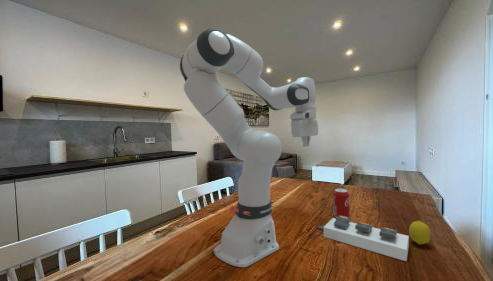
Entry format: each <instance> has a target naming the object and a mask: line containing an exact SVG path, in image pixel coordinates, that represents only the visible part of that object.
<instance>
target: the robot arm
mask: <svg viewBox="0 0 493 281" xmlns="http://www.w3.org/2000/svg"><path fill="white" fill-rule="evenodd" d="M263 60H264V59H263V57H262V56H261V55H260V53H258V52H257V51H256V50H255V49H254V48H252V47H251V46H250V45H249V44H247V43H246V42H244V41H242V40H241V39H239V38H238V37H236V36H234V35H232V34H230V33H225V32H224V31H222V30H220V29H217V28H215V27H214V28H207V29H205V30H203V31H202V32H201V33H199V35H197V38H195V40H193V42H192V43H191V44H189V46H188V47H187V49H186V50H185V52H184V54H183V55H182V56H181V59H180V62H179V70H180V73H181V76H182V77H183V79H184V84H183V91H184V94H185V96H186V97H187V99H188V100H189V101H190V103H191V104H192V105H193V107H194V108H195V110H197V112H198V113H199V114H200V115H201V116H202V118H204V120H205V121H207V123H208V124H209V125H210V126H211V127H212V128H213V129H214V131H215V132H216V133H217V134H218V135H219V136H220V138H221V139H222V140H223V142H224V143H225V145H226V147H227V148H228V149H229V150H230V152H231V154H232V155H233V156H234V157H236V159H238V160H240V161H243V165H242V170H241V174H240V176H239V177H238V180H237V190H238V193H237V194H238V201H237V204H236V206H234V205H231V206H230V207H229V211H230V213H234V214H235V215H234V216H233V217H232V219H231V220H230V221H229V223H228V224H227V225H226V227H225V229H223V231H222V233H221V240H220V243H219V244H218V245H216V246H215V247H214V250H213V253H214V255H215V257H217V258H218V259H219V260H220V261H223V262H224V263H226V264H227V265H231V266H234V267H239V268H247V267H249V266H251V265H254V264H255V263H256V262H258V261H260V260H262V259H264V258H265V257H267V256H270V255H271V254H273V253H275V252H276V251H278V250H279V249H280V246H279V243H278V242H277V236H276V235H277V234H276V228H275V222H274V219H273V217H272V210H273V209H272V208H273V205H272V201H271V177H272V172H273V168H274V165H275V164H276V162H277V161H278V160H279V159H280V157H281V156H282V152H283V150H282V149H283V146H282V141H281V140H280V138H279V137H278V136H277V135H276V134H274V133H272V132H269V131H266V130H254V129H253V128H252V127H251V126H250V125H249V123H248V122H247V119H246V116H245V112H244V109H243V108H242V107H241V106H240V105H239V104H238V102H237V101H236V100H235V99H234V97H233V96H232V95H231V94H230V93H229V92H228V90H226V88H224V86H223V85H222V84H221V83H220V81H219V80H218V78H217V73H218V72H219V71H220V70H221V69H222V68H224V69H226V70H227V71H229V72H230V74H233V75H234V76H235V77H237V78H238V79H240V80H241V81H242V82H243V83H244V85H245V86H246V87H247V88H248V89H250V90H251V91H252V92H253V93H254V94H256V95H257V96H259V98H261V99H262V100H263V101H264V102H265V104H266V105H267V107H269V109H271V110H272V111H280V110H283V109H289V108H295V111H294V112H292V113H291V114H289V115H290V117H289V119H290V120H291V122H290V130H291V136H292V138H301V142H302V147H304V148H305V147H306V148H307V147H309V146H310V141H311V137H313V136H318V134H319V125H318V120H317V105H316V100H317V95H316V94H317V92H316V83H315V81H314V79H313V78H311V77H307V76H301V77H299V78H296V80H295V81H293V82H292V83H288V84H286V85H282V86H278V87H277V86H276V87H274V86H270V85H269V84H268V83H267V82H266V81H264V79H262V78H261V75H262V72H263V70H264V61H263Z"/></svg>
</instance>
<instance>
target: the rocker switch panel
mask: <svg viewBox="0 0 493 281" xmlns="http://www.w3.org/2000/svg"><path fill="white" fill-rule="evenodd" d="M335 221H336V217H332V218H331V219H330V220H329V221H328V222H327V223H326V224H325V225H324V226H322V225H319V224H318V225H317V229H318V230H321V231H323V237H324V238H327V239H330V240H334V241H336V242H337V241H338V242H340V243H344V244H347V245H350V246H354V247H357V248H360V249H363V250H367V251H370V252H373V253H377V254H380V255H382V256H383V255H384V256H387V257H390V258H394V259H398V260H400V261H404V262H407V260H408V253H409V246H410V245H409V244H410V241H409V240H410V235H406V234H402V233H398V232H397V235H396V238H395V240H394V239H390V238H386V237H383V236H379V235H380V230H381V228H376V227H373V226H372V229H371V231H370V232H365V231H361V230H357V229H355V225H357V223H355V222H351V221H350V223H349V225H348V226H347V228H346V229H343V228H339V227H335V226H334V222H335Z"/></svg>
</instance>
